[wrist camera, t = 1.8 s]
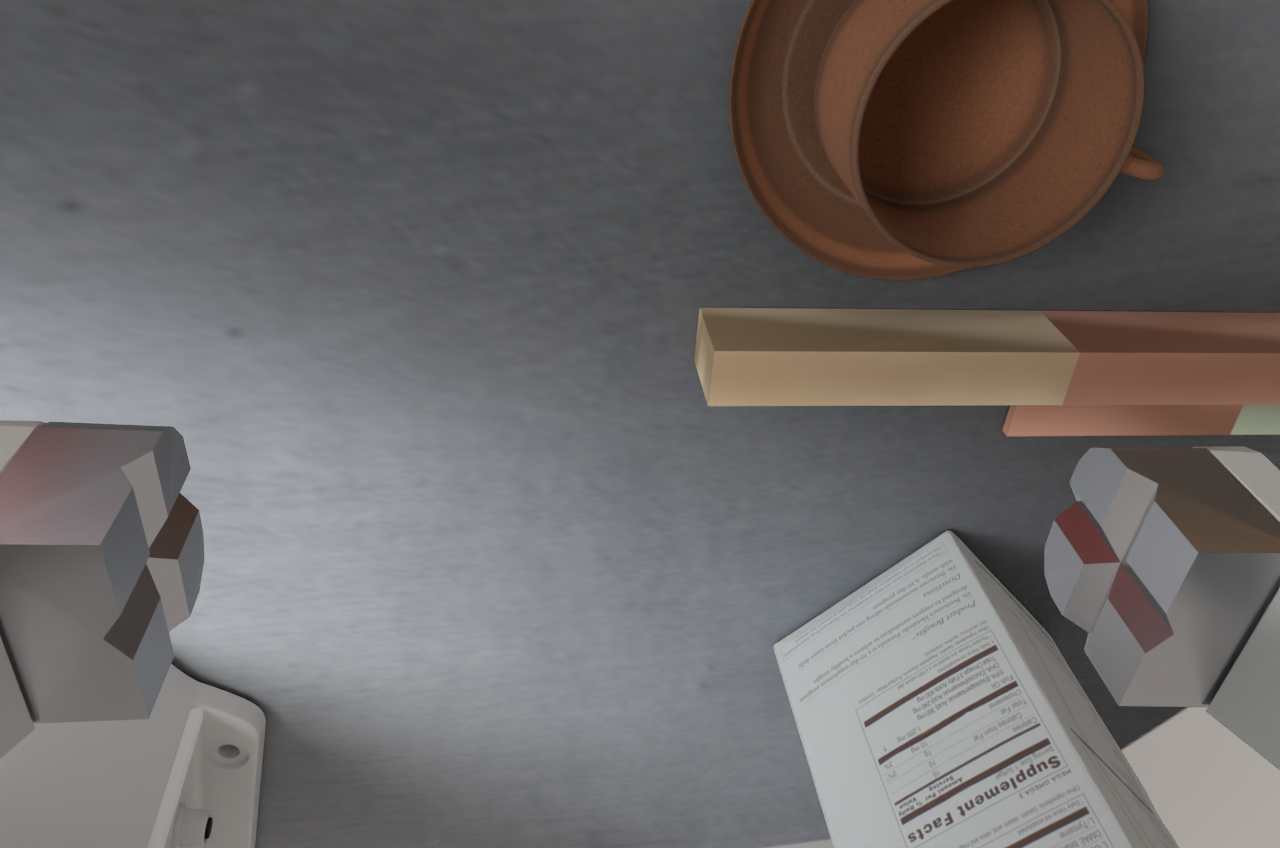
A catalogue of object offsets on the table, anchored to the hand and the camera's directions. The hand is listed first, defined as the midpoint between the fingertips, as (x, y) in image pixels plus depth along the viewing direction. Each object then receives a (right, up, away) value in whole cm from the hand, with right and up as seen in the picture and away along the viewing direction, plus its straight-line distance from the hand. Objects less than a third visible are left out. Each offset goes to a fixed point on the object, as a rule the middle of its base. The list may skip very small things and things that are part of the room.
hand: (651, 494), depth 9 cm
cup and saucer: (+8, +11, +21) cm, 25 cm away
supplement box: (+12, -9, +34) cm, 37 cm away
